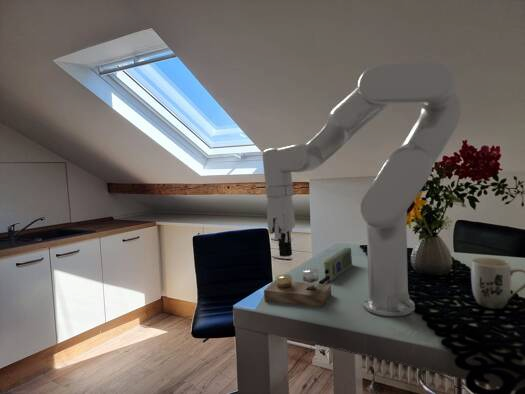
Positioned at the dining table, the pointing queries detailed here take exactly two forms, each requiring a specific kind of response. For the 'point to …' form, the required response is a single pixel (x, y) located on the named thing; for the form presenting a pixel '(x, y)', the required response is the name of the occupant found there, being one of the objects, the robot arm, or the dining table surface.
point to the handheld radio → (337, 264)
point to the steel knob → (310, 277)
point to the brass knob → (284, 281)
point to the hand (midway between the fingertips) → (286, 255)
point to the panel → (298, 294)
